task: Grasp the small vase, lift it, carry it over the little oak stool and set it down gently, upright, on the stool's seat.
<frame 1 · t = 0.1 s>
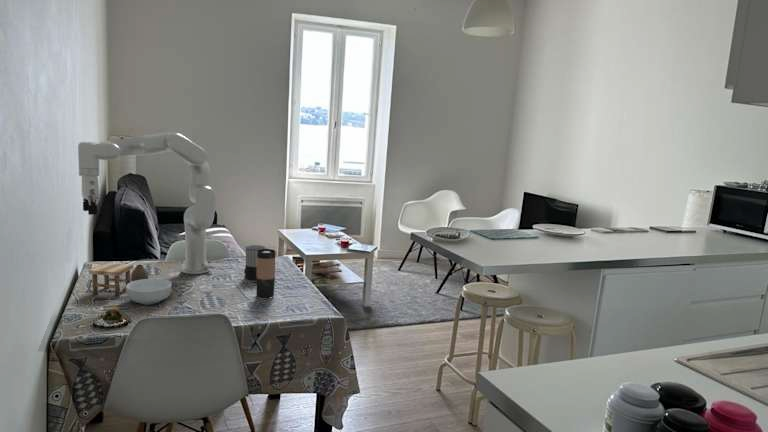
hand: (90, 212, 227), 31 cm above the table, tool pointing down, fingers open, 9 cm apart
vase: (139, 285, 235), on the table
travel mug: (265, 297, 230), on the table
stool: (112, 292, 223), on the table
milk frother: (253, 275, 260), on the table
mossy pebble dish: (112, 324, 190), on the table
cereal bowl: (149, 301, 215), on the table
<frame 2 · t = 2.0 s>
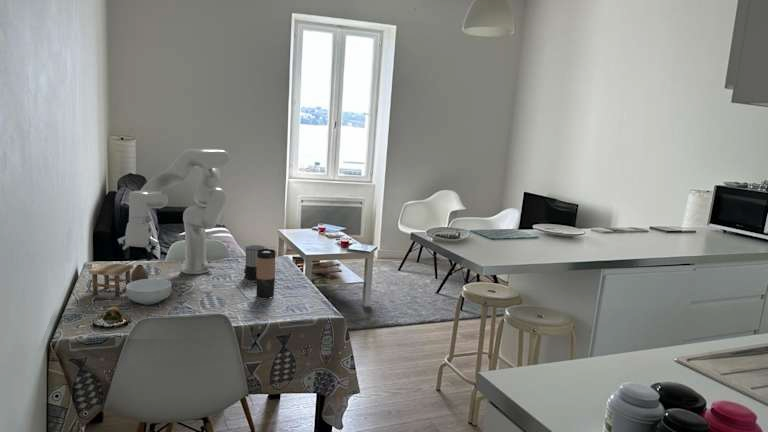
hand: (138, 259, 232), 12 cm above the table, tool pointing down, fingers open, 9 cm apart
nothing on the table moved.
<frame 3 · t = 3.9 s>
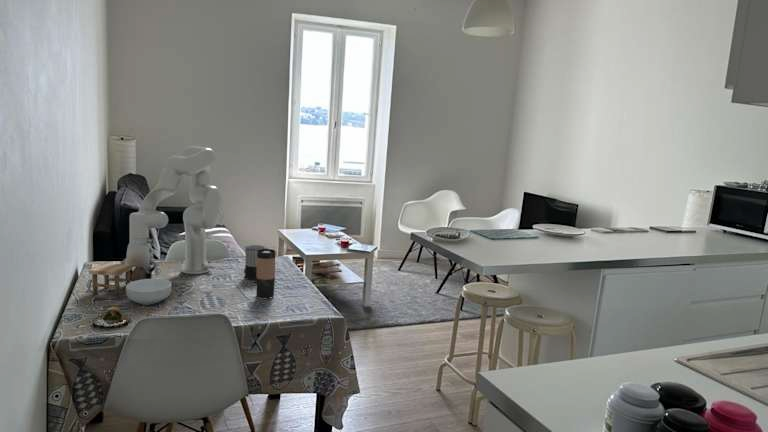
hand: (139, 280, 234), 2 cm above the table, tool pointing down, fingers closed on vase, 7 cm apart
vase: (139, 285, 235), on the table, touching gripper
everything else where it was.
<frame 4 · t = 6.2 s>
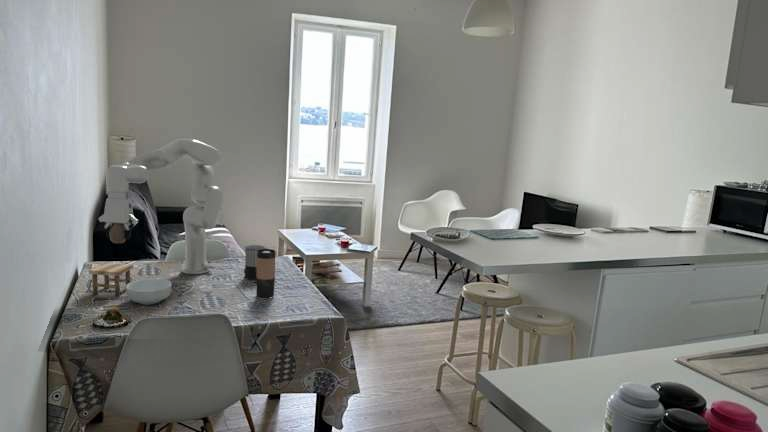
hand: (118, 238, 222), 22 cm above the table, tool pointing down, fingers closed on vase, 7 cm apart
vase: (118, 242, 223), point 20 cm above the table, touching gripper
everything else where it was.
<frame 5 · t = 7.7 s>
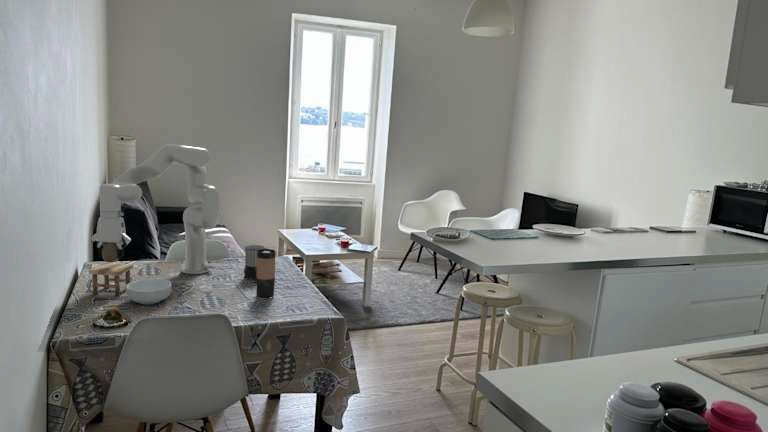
hand: (111, 257, 220), 15 cm above the table, tool pointing down, fingers closed on vase, 7 cm apart
vase: (111, 261, 221), point 13 cm above the table, touching gripper
everything else where it was.
when the fingers open (13 cm above the table, at t = 9.0 s): vase stays where it is, resting on stool.
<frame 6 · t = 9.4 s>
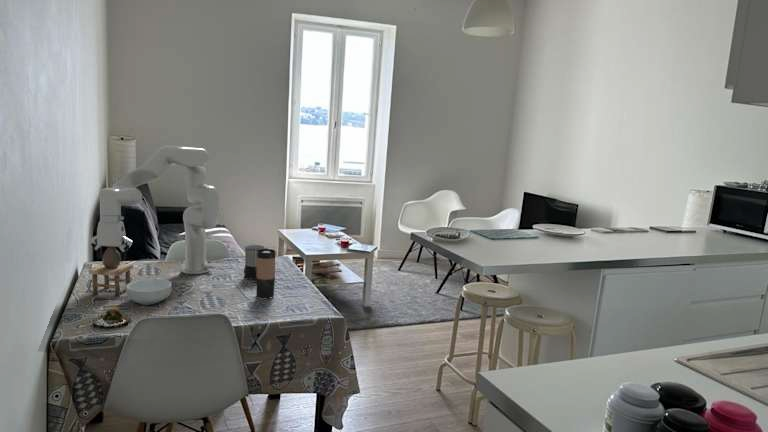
hand: (111, 259, 221), 14 cm above the table, tool pointing down, fingers open, 9 cm apart
vase: (111, 267, 221), point 10 cm above the table, touching stool
everything else where it was.
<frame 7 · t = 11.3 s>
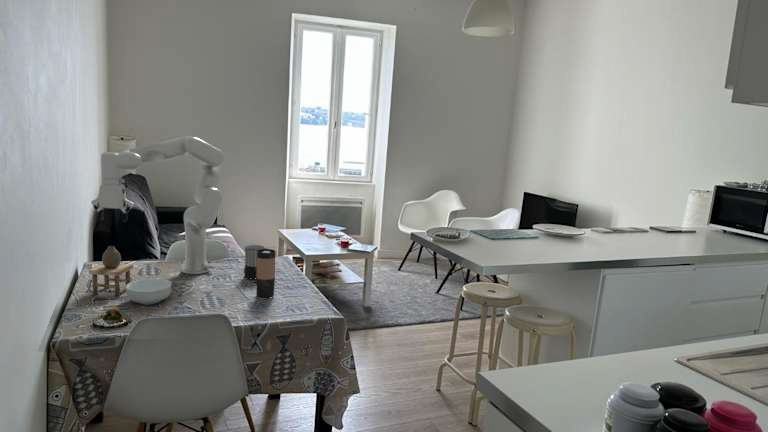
hand: (113, 221, 231), 27 cm above the table, tool pointing down, fingers open, 9 cm apart
nothing on the table moved.
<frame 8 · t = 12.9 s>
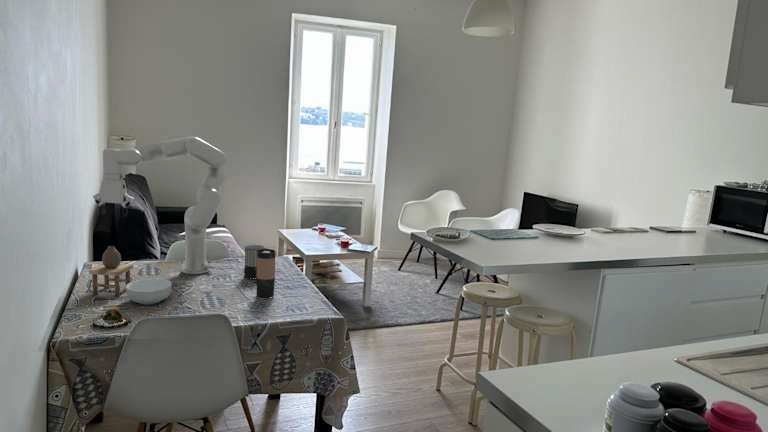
hand: (113, 215, 238), 28 cm above the table, tool pointing down, fingers open, 9 cm apart
nothing on the table moved.
at the end: vase inside the target area on the stool (0.1 cm from its centre), point 10.3 cm above the stool's base; vase tilted 0°; the gripper is holding nothing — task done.
